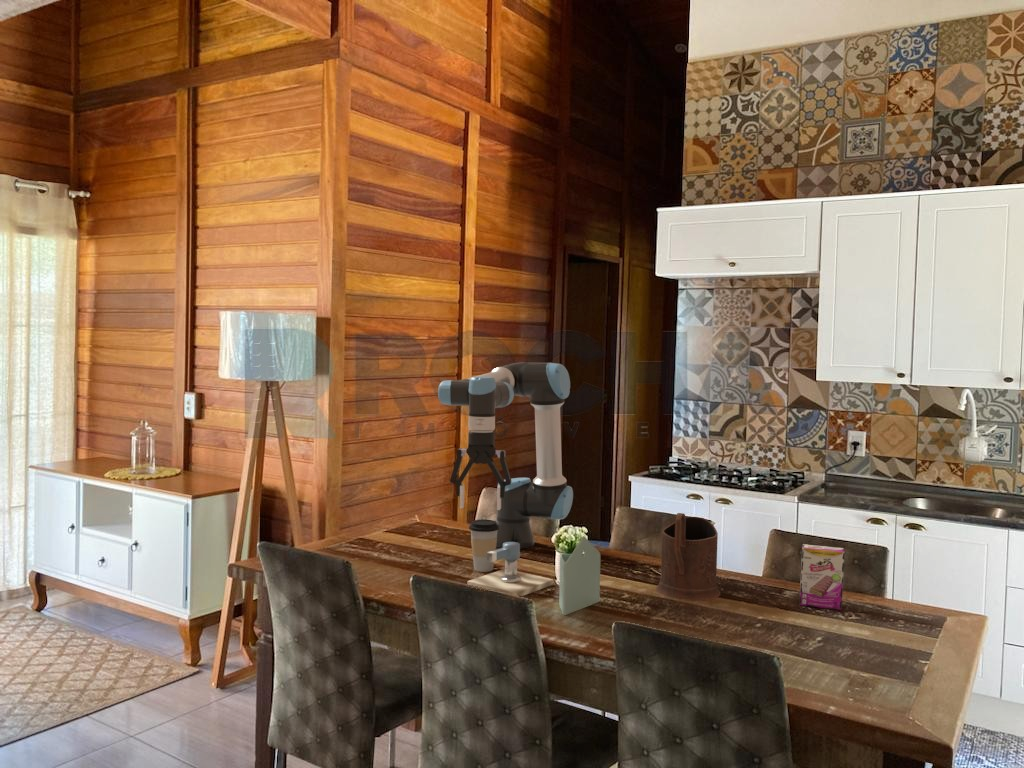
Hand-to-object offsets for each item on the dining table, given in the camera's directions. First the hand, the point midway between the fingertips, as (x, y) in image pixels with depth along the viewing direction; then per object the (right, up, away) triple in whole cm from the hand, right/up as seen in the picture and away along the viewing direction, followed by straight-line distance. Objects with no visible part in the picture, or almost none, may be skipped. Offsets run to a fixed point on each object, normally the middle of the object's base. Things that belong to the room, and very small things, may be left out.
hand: (480, 508), depth 247 cm
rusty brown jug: (+59, -25, +2) cm, 64 cm away
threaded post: (+9, -22, +7) cm, 25 cm away
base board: (+9, -24, +7) cm, 26 cm away
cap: (+6, -15, +4) cm, 17 cm away
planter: (+25, -25, -11) cm, 37 cm away
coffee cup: (0, -23, +24) cm, 33 cm away
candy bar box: (+95, -26, -7) cm, 98 cm away
